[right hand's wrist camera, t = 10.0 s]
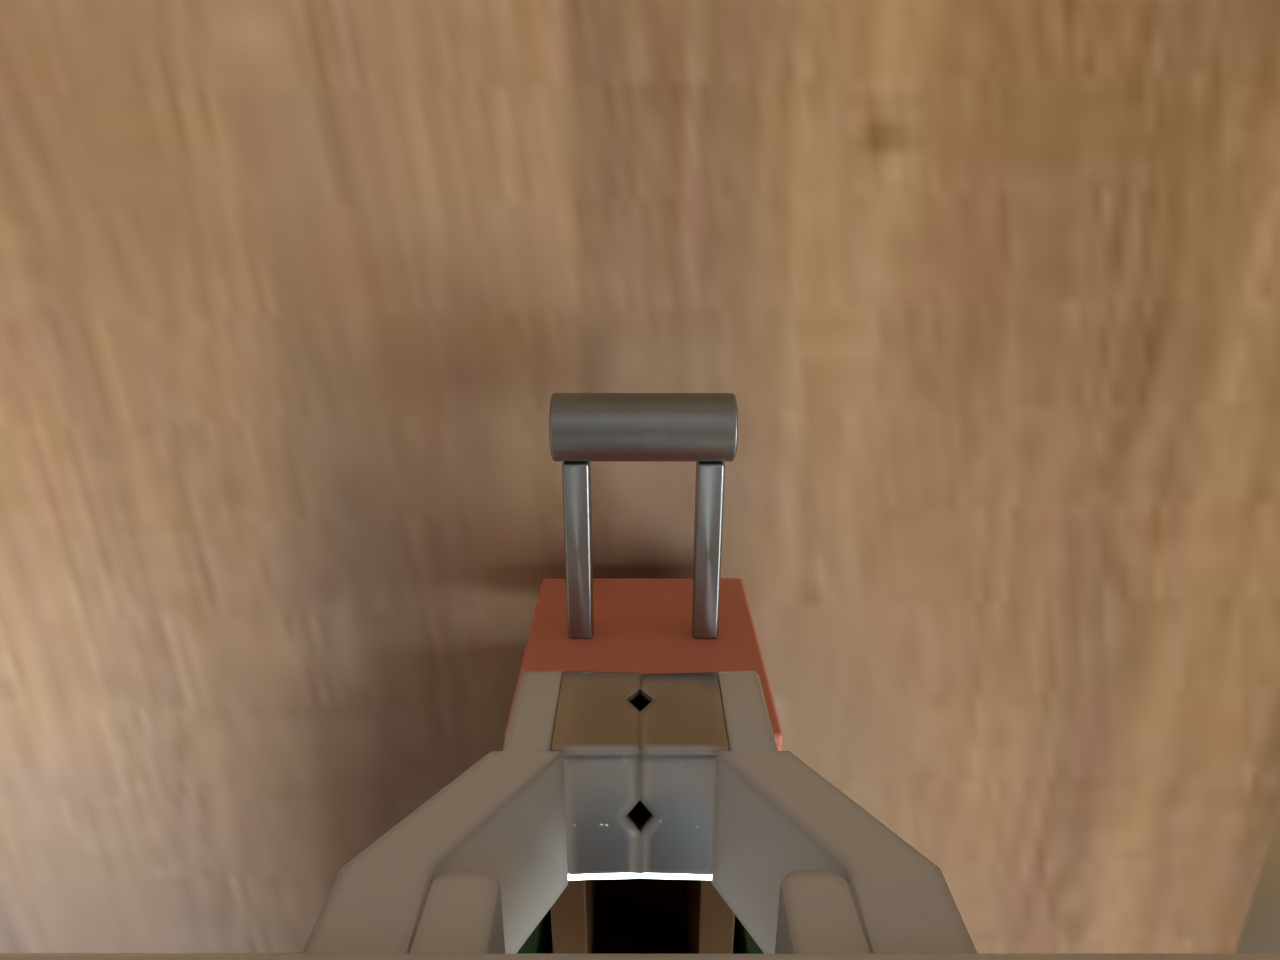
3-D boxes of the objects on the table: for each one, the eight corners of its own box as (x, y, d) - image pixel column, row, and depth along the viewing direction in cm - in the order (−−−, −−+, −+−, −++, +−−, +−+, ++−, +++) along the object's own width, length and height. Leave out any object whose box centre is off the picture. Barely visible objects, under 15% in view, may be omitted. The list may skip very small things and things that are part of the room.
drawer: (532, 365, 20) (483, 448, 14) (753, 365, 20) (805, 448, 14) (562, 1037, 29) (540, 1283, 22) (719, 1037, 29) (742, 1283, 22)
